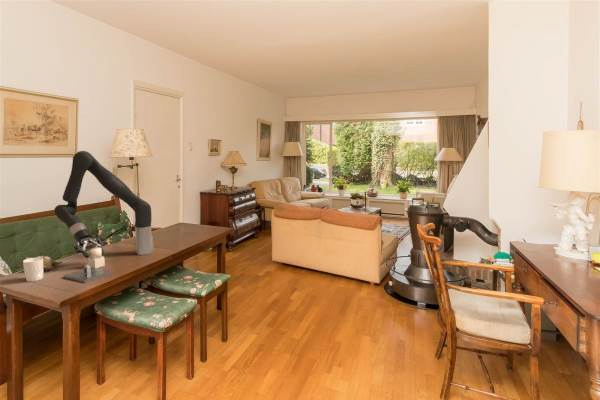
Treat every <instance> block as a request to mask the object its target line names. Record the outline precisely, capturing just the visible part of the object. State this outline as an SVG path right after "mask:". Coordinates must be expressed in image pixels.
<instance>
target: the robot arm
mask: <svg viewBox="0 0 600 400" xmlns="http://www.w3.org/2000/svg"><path fill="white" fill-rule="evenodd" d="M86 172H89V173H90V174H92V175H93V176H94V178H95V179H96V180H97V181H98V182H99V184H100V185H101V186H102V187H103V188H104V189H105V190H107V191H108V192H109V193H110V194H111V195H113V196H115V197H116V198H118V199H119V200H121V201H122V202H124V203H125V204H127V205H128V206H129V207H130V208H131V209H132V210H133V212H134V231H135V233H134V234H135V235H134V236H135V250H136V253H135V254H136V255H138V256H141V255H142V256H143V255H150V254H152V253H153V252H154V250H155V249H154V237H153V236H152V233H153V232H152V219H153V218H152V207H151V205H150V204H149V202H147V201H146V200H143V199H142V198H140V197H139V196H138V195H136V194H135V193H134V192H133V191H132V190H131V189H130V187H129V186H128V185H127V184H126V183H125V182H124V181H123V180H121V179H120V178H119V177H118V176H116V175H115V174H114V173H112V172H111V171H110V170H108V169H107V168H106V167H105V166H104V165H102V164H101V163H100V162H99V161H98V160H97V159H96V158H95V157H94V156H93V155H92V154H91V153H90V152H88V151H85V150H80V151H77V152H76V153H75V154H74V155H73V156H72V163H71V171H70V175H69V178H68V181H67V182H66V186H65V188H64V190H63V191H64V192H63V195H62V200H63V201H65V202H67V204H58V205H56V206H55V207H54V209H53V210H54V215H55V216H56V217H57V219H59V220H60V221H61V222H62V223H64V224H65V225H66V226H67V228H68V230H69V231H70V234H72V236H73V238H74V239H75V241H74V243H73V244H72V247H73V248H74V250H75V251H76V253H77V254H82V255H83V257H84V258H86V259H88V258H90V253H88V251H87V250H86V249H88V248H97V247H100V248H101V250H102V255H103V254H104V252H105V250H104V249H103V246H104V245H105V244H104V242H103V241H102V240H101V238H100V237H99V236H96V237H95V238H94V237H92V234H91V232H90V231H89V230H88V228H87V227H86V225H85V224H84V223H83V222H82V220H81V219H80V218H79V216H76V214H77V211H78V198H79V195H80V191H81V189H82V183H83V180H84V177H85V174H86ZM80 246H81V247H80Z"/></svg>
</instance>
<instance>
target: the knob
mask: <svg viewBox="0 0 600 400" xmlns="http://www.w3.org/2000/svg"><path fill="white" fill-rule="evenodd" d="M105 261H106V260H105V256H103V254H102V250H101V248H100V247H97V248H94V247H90V249H89V257H88V258H87V264H89V266H90V267H94V268H101V267H105V266H106V265H105Z"/></svg>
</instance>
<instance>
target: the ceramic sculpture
mask: <svg viewBox="0 0 600 400" xmlns="http://www.w3.org/2000/svg"><path fill="white" fill-rule="evenodd" d="M37 257H41V258H43V271H51V270H53V269H55V268H56V267H55V266H58V265H60V264H62V263H63V261H60V262H59V261H55V260H53V259H52V258H51V257H50V256H49V255H48V256H46V255H45V256H43V254H39V255H36V257H35V258H37ZM30 258H31V257H25V260H26V259H30Z"/></svg>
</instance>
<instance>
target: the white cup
mask: <svg viewBox="0 0 600 400" xmlns="http://www.w3.org/2000/svg"><path fill="white" fill-rule="evenodd" d="M36 257H37V256H36ZM36 257H29V258H30V259H26V258H25V259H24V260H22V263H23V264H22V265H23V272H24V276H25V280H26V282H28V283H29V282H36V281H40V280H43V279H44V270H43V258H41V257H37V258H36Z"/></svg>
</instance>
